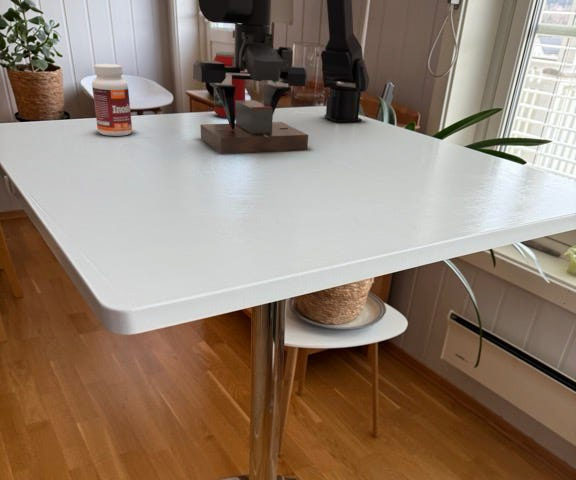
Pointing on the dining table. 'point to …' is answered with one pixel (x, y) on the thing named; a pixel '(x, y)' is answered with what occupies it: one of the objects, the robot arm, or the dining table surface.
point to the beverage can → (239, 83)
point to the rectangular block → (254, 116)
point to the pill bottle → (111, 100)
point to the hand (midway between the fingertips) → (249, 129)
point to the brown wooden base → (253, 139)
